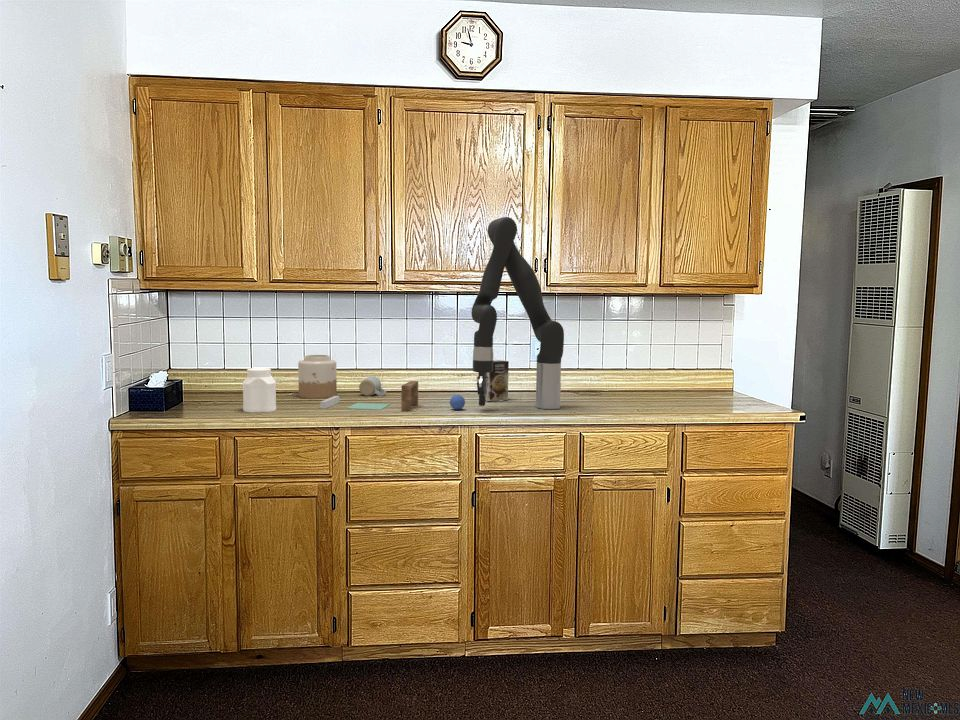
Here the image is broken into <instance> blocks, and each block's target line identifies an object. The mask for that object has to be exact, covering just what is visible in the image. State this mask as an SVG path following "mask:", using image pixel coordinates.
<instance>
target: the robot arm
mask: <svg viewBox="0 0 960 720" xmlns="http://www.w3.org/2000/svg"><path fill="white" fill-rule="evenodd" d="M517 232H518V226H517V223H516V221H515V220H514V219H513V218H511V217H508V216H502V217H500V218H495V219H494V220H491V221H490V223H489V224H488V226H487V235H488V239H489V240H490V242H491V244H492V245H493V247H492V251H491V254H490V257H489V259H488V262H487V264H486V265H485V268H484V271H483V274H482V278H481V282H480V287H479V291H478V294H477V296H476V298H475V300H474V303H473V304H472V308H471V318H472V320H473V321H474V323H476V324H478V325H479V326H478V330H476V331H475V332H474V334H473V335H474V336H473V350H472V372H473V373H478V374H477V375H478V376H477V377H476V389H477V395H478V406H480V407H484V406H485V405H486V401H485V395H486V393H487V388H488V378H489V377H487V373H489V372H492V371H493V361H494V347H493V346H494V333H495V330H496V325H497V321H498V313H497V310H496V308H495V307H494V305H492V303H493V301H494V300H496V299H497V298H498V295H499V293H500V288H501V285H502V283H501V282H502V279H503V274H504V270H506V272H507V276H508V277H509V279H510V282H511V284H512V285H513V288H514V290H515V292H516V294H517V297H518V299H519V300H520V302H521V305H522V306H523V308H524V310H525V312H526V314H527V316H528V319H529V322H530V325H531V327H532V331H533V333H534V335H535V338H536V340H537V341H538V342H539V343H540V346H539V353H538V354H537V355H536V377H535V378H536V379H535V380H536V383H535V384H536V385H535V407H536V408H537V409H544V410H558V409H559V410H560V409H561V393H562V392H561V386H562V384H561V383H562V380H561V376H562V375H561V374H562V358H563V355H564V344H565V330H564V328H563V326H562V324H561V323H560V322H558V321H556V320H552V318H551V317H550V315H549V313H548V311H547V309H546V308H545V307H546V306H545V305H544V300H543V299H544V298H543V293H542V289H541V284H540V282H539V280H538V277H537V275H536V273H535V270H534V269H533V268H532V266H531V265H530V264H529V262H528V261H527V260H526V259H525V257H524V256H523V255H522V254H521V253H520V251H519V250H518V248H517V245H516V243H515V238H516V237H517Z"/></svg>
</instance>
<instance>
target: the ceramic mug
mask: <svg viewBox="0 0 960 720" xmlns="http://www.w3.org/2000/svg"><path fill="white" fill-rule="evenodd" d="M358 387H359V392H360V393H361V394H362V395H363V396H366V397H372V396H373V395H378V396H380V397H385V396H386V394H387V391H386V390H385V389H384V388H382V383H381V380H380V379H379V378H378V377H377V376H374V375H370V376H369V375H368V376H367V377H366V378H365V379H363V380H362V381H361V382H360V383H359V386H358Z"/></svg>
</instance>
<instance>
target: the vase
mask: <svg viewBox="0 0 960 720" xmlns="http://www.w3.org/2000/svg"><path fill="white" fill-rule="evenodd" d="M297 365H298V367H297V368H298V374H297V375H298V379H297V380H298V397H300V398H301V399H310V400H312V399H313V400H316V399H317V400H319V399H322V400H325V399H328V398H331V397H333V396H338V395H337V392H338V390H337V385H338V384H337V383H338V382H337V361H336V360H333V359H331V357H330V355H327V354H308V355H305V356H304V360H299V361H298V363H297Z"/></svg>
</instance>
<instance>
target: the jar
mask: <svg viewBox="0 0 960 720" xmlns="http://www.w3.org/2000/svg"><path fill="white" fill-rule="evenodd" d="M246 373H247V374H246V375H247V376H246V377H245V379H244V380H243V382H242V398H243V399H242V400H243V404H242V405H243V406H242V411H243V412H245V413H271V412H275V411H276V410H277V395H276V394H277V393H276V392H277V391H276V389H277V388H276V387H277V381H276V380H275V379H274V377H273V376H272V368H268V367H253V368H252V367H251V368H247V372H246Z"/></svg>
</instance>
